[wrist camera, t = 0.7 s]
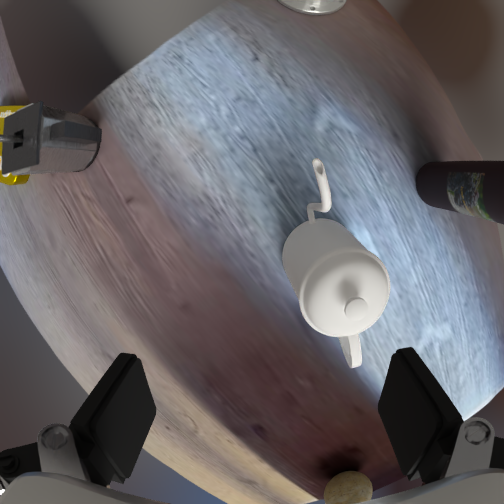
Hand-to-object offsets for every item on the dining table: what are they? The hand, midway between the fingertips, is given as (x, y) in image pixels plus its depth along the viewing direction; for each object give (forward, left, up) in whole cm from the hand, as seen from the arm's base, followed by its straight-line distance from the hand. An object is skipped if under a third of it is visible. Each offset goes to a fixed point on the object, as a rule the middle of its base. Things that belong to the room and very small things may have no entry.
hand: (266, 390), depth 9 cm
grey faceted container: (-15, -29, -32) cm, 46 cm away
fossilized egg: (+65, +23, -32) cm, 76 cm away
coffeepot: (+3, +8, -32) cm, 33 cm away
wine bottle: (-8, +27, -32) cm, 43 cm away
